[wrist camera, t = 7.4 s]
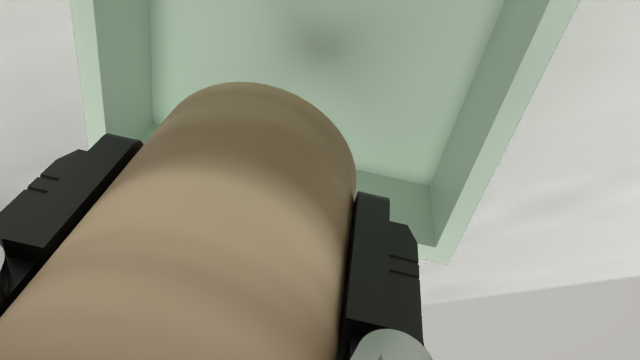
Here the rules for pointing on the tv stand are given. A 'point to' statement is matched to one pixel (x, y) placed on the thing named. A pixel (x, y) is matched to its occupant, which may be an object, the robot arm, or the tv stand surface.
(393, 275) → the robot arm
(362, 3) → the tote
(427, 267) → the tv stand surface
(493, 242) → the tv stand surface
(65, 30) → the tv stand surface
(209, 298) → the beech cylinder
